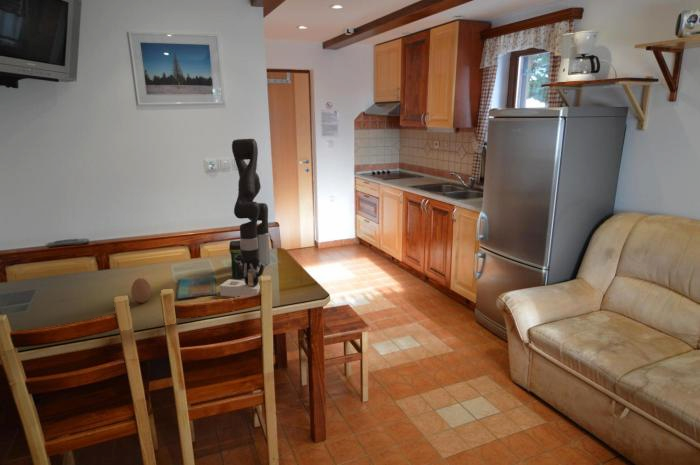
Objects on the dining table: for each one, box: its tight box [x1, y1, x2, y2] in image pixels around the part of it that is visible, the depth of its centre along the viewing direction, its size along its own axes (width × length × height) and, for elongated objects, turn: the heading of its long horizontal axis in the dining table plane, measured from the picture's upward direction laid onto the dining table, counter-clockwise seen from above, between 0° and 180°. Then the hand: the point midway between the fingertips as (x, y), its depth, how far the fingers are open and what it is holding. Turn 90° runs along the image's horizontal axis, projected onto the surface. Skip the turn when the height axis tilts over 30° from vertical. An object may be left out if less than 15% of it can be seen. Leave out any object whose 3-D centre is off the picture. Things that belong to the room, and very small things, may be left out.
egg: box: [131, 277, 152, 304], centre depth 185 cm, size 8×8×11 cm
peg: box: [247, 270, 255, 287], centre depth 191 cm, size 3×3×10 cm
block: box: [219, 278, 260, 298], centre depth 193 cm, size 8×18×5 cm, turn 76°
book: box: [176, 275, 218, 302], centre depth 201 cm, size 17×23×2 cm
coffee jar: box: [228, 240, 245, 279], centre depth 214 cm, size 10×8×19 cm
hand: (251, 284), depth 192 cm, fingers open, 3 cm apart
